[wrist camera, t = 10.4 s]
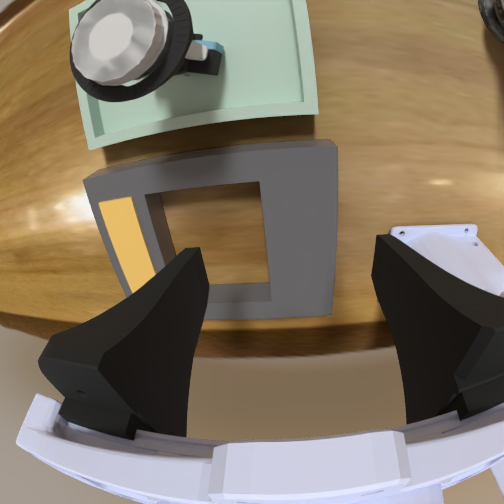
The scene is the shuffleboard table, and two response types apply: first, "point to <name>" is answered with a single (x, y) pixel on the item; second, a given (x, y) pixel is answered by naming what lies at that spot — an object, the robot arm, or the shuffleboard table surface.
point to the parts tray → (219, 73)
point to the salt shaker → (493, 16)
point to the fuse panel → (274, 214)
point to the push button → (137, 48)
